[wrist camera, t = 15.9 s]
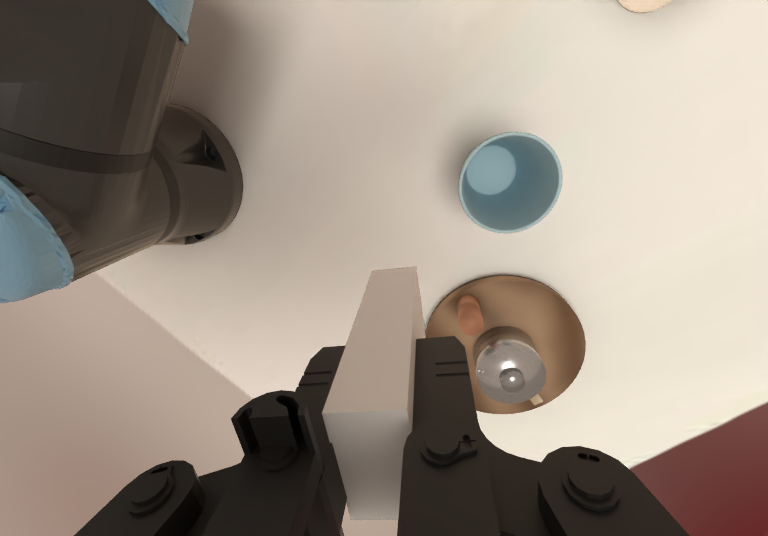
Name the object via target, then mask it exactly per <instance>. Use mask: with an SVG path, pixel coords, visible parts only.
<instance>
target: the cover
mask: <svg viewBox="0 0 768 536" xmlns="http://www.w3.org/2000/svg"><path fill="white" fill-rule="evenodd" d="M473 358H474V364H475V370H476V376H477V381H478V385H479V387H480V389H481V390H482V391H483V393H484V394H485V395H487V396H488V397H489V398H491V399H493V400H495V401H497V402H501V403H508V404H514V403H521V402H524V401H527V400H529V399H531V398H533V397H534V396H536V395H537V394H538V393H539V392H540V391H541V390H542V388H543V386H544V384H545V382H546V369H545V366H544V364H543V362H542V360H541V357H540V355H539V353H538V351H537V349H536V347H535V344H534V342H533V340H532V339H531V337H530V336H529V335H528V334H527V333H526V332H524V331H523V330H521V329H518V328H516V327H511V326H499V327H494V328H491V329H489V330H487V331H485V332H484V333H483V334H481V335H480V336H479V338H478V339H477V340H476V342H475V344H474V347H473Z"/></svg>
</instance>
